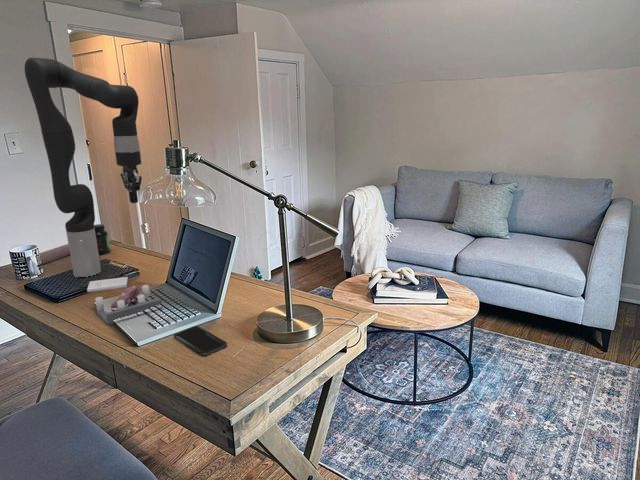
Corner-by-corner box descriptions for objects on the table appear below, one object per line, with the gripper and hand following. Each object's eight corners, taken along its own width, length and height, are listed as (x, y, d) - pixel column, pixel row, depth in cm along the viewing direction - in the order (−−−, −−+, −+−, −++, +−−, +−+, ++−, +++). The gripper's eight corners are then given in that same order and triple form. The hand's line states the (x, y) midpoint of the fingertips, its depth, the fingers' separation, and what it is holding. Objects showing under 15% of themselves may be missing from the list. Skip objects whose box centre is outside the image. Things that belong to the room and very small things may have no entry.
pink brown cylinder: (37, 257, 177) (75, 244, 193) (28, 254, 178) (67, 241, 194) (38, 268, 178) (76, 254, 194) (29, 265, 180) (68, 252, 196)
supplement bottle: (113, 251, 196) (110, 224, 192) (99, 256, 190) (95, 228, 187) (103, 249, 199) (99, 222, 196) (89, 253, 194) (85, 226, 190)
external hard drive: (127, 288, 158) (87, 293, 154) (128, 280, 165) (90, 284, 162) (126, 284, 158) (86, 289, 154) (127, 276, 165) (89, 280, 161)
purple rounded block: (121, 316, 140) (128, 298, 137) (108, 309, 140) (115, 291, 137) (138, 303, 149) (145, 285, 147) (126, 296, 149) (132, 279, 147)
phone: (202, 355, 113) (171, 335, 123) (202, 359, 114) (172, 338, 124) (228, 343, 119) (197, 324, 129) (229, 347, 119) (197, 328, 129)
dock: (96, 313, 138) (94, 297, 137) (148, 298, 148) (147, 284, 147) (108, 324, 131) (105, 308, 129) (162, 308, 141) (160, 293, 139)
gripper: (108, 149, 150) (115, 201, 155) (122, 152, 141) (130, 207, 146) (131, 148, 155) (137, 198, 160) (146, 150, 145) (153, 204, 150)
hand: (134, 202), depth 153 cm, fingers closed
